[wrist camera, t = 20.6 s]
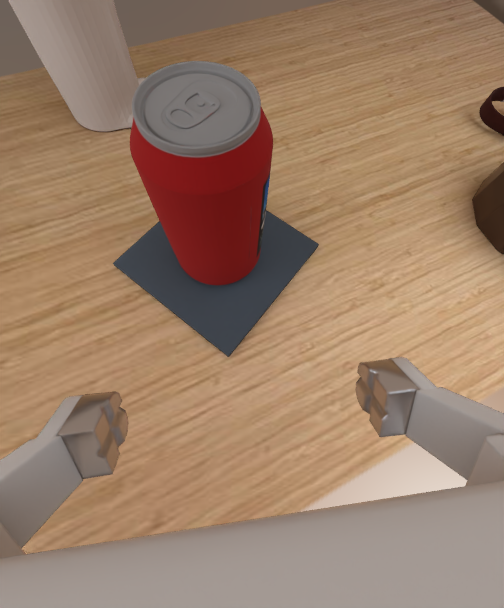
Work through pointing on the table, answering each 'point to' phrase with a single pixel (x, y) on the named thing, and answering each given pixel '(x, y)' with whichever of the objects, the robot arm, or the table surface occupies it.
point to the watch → (493, 111)
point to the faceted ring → (491, 208)
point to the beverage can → (205, 165)
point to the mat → (218, 298)
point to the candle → (84, 57)
